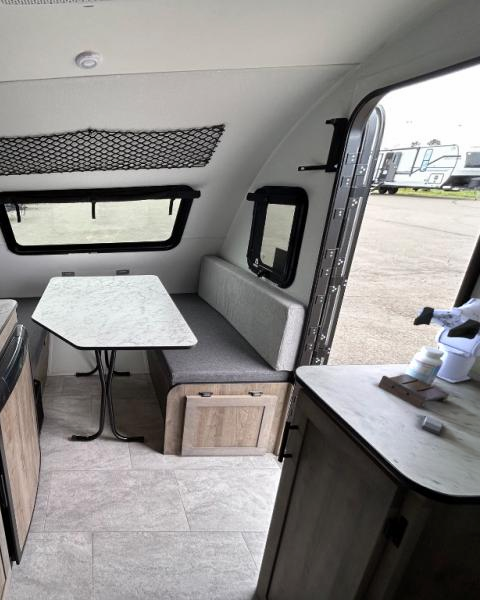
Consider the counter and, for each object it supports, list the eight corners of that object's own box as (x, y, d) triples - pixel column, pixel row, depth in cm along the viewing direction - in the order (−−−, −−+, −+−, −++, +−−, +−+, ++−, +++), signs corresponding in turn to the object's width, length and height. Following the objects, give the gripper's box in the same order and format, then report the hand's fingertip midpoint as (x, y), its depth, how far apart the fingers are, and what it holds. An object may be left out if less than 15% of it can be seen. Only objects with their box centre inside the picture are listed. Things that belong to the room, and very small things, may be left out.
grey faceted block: (423, 418, 84) (427, 411, 84) (439, 424, 82) (443, 417, 81) (421, 428, 81) (424, 421, 80) (438, 435, 79) (442, 428, 78)
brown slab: (403, 380, 100) (408, 370, 99) (445, 401, 92) (451, 390, 90) (377, 386, 97) (382, 375, 96) (418, 408, 88) (424, 397, 87)
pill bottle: (418, 376, 103) (434, 345, 99) (436, 388, 98) (454, 356, 93) (398, 374, 104) (413, 343, 100) (415, 386, 98) (431, 354, 94)
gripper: (436, 296, 100) (405, 305, 97) (505, 314, 87) (472, 326, 84) (429, 316, 103) (398, 326, 100) (494, 337, 90) (462, 349, 87)
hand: (431, 327), depth 92 cm, fingers open, 7 cm apart
